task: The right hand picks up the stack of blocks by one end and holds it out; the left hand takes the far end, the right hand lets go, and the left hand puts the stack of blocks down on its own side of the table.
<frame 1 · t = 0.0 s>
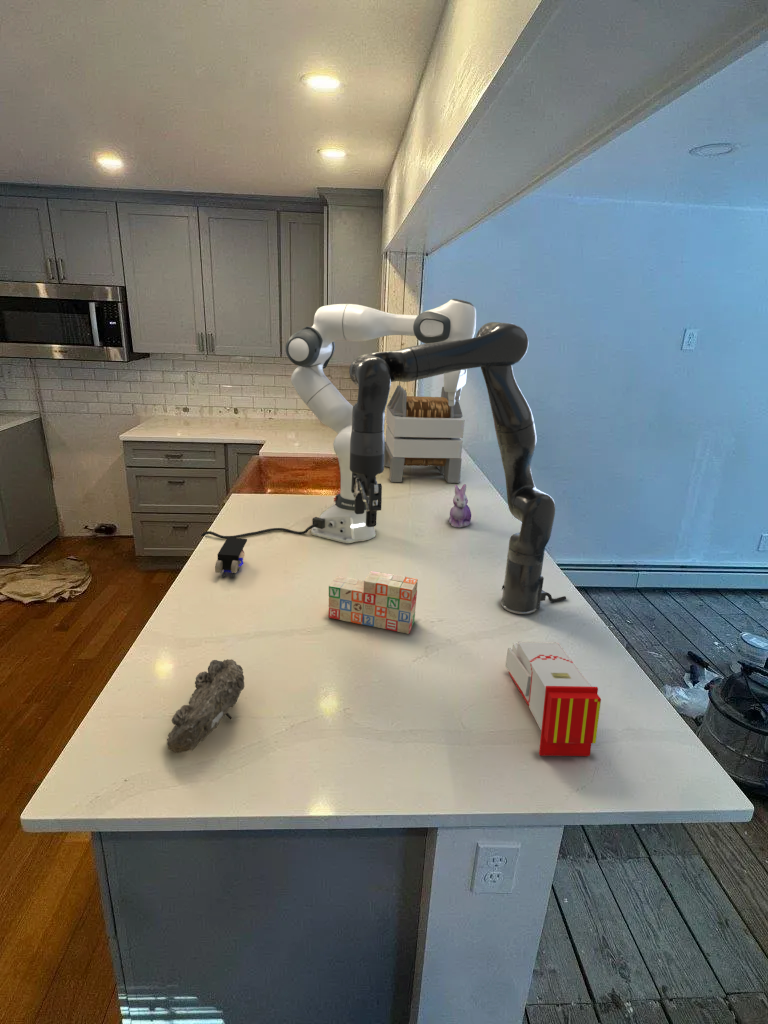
left hand: (454, 403, 174), 48 cm above the counter, tool pointing down, fingers open, 8 cm apart
right hand: (364, 519, 129), 29 cm above the counter, tool pointing down, fingers open, 8 cm apart
stack of blocks: (371, 620, 144), on the counter
figurine: (459, 523, 212), on the counter
toy: (542, 706, 115), on the counter
grey storage crate: (419, 473, 275), on the counter
black wheeled block: (232, 569, 168), on the counter
fossil: (212, 717, 108), on the counter
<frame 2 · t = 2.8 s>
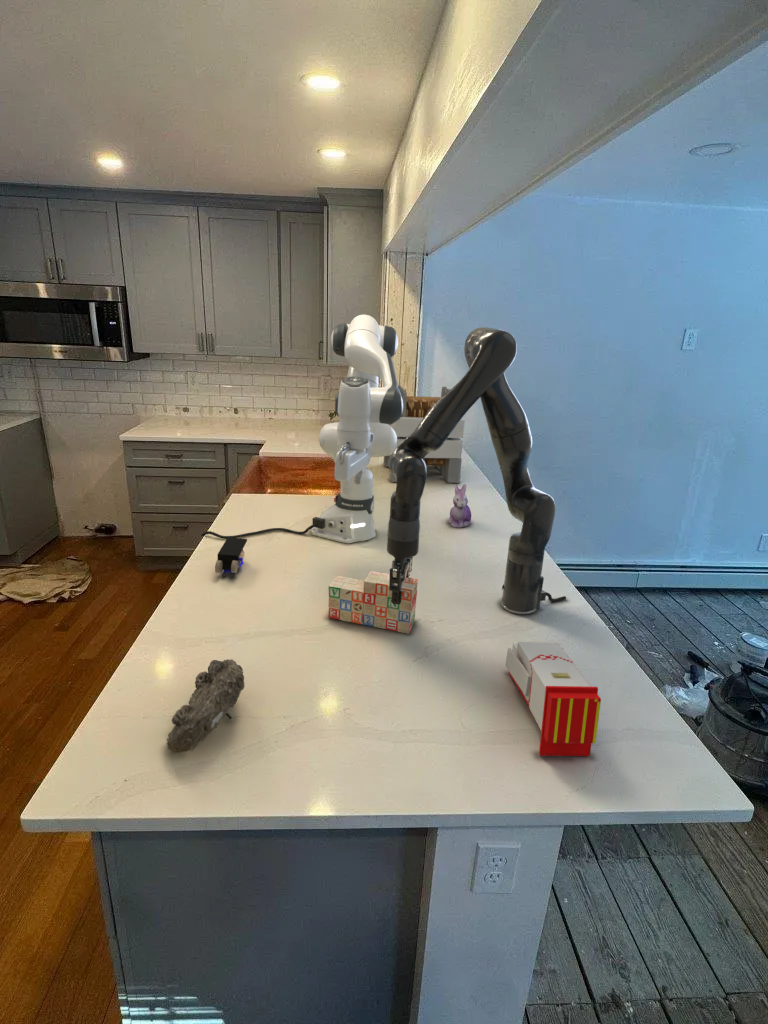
left hand: (352, 488, 157), 27 cm above the counter, tool pointing down, fingers open, 8 cm apart
right hand: (399, 596, 140), 8 cm above the counter, tool pointing down, fingers closed on stack of blocks, 6 cm apart
stack of blocks: (371, 619, 144), on the counter, touching right hand
everything else where it was.
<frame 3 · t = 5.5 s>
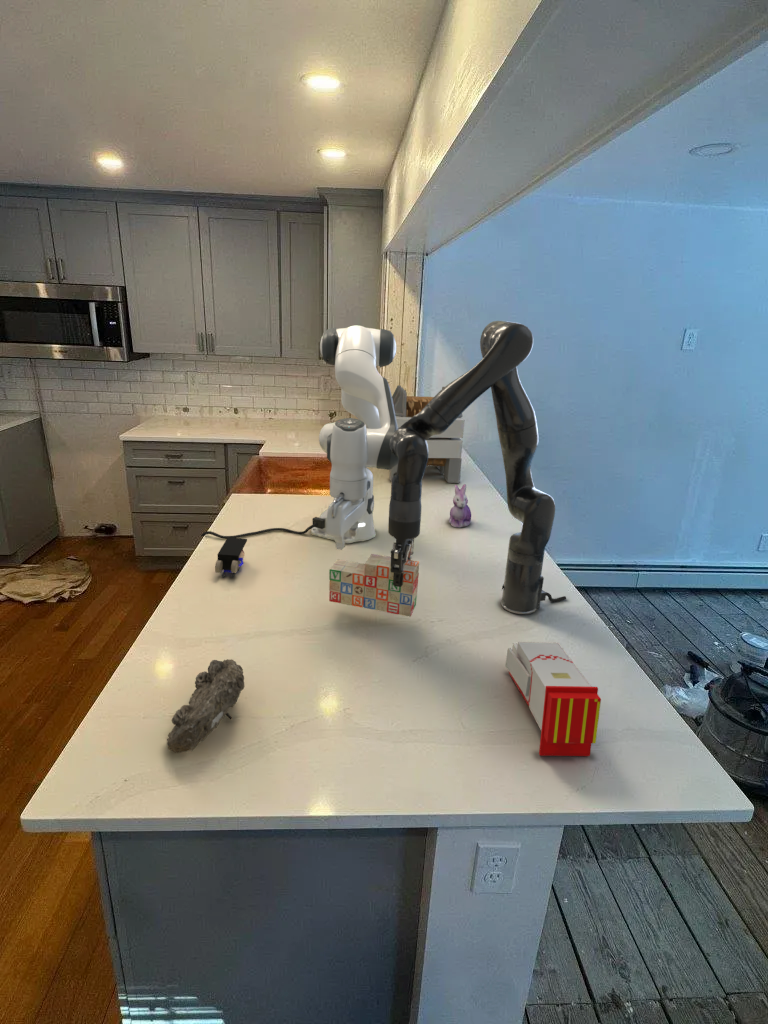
left hand: (346, 541, 140), 20 cm above the counter, tool pointing down, fingers open, 8 cm apart
right hand: (401, 579, 138), 13 cm above the counter, tool pointing down, fingers closed on stack of blocks, 6 cm apart
stack of blocks: (372, 603, 143), point 5 cm above the counter, touching right hand
everything else where it was.
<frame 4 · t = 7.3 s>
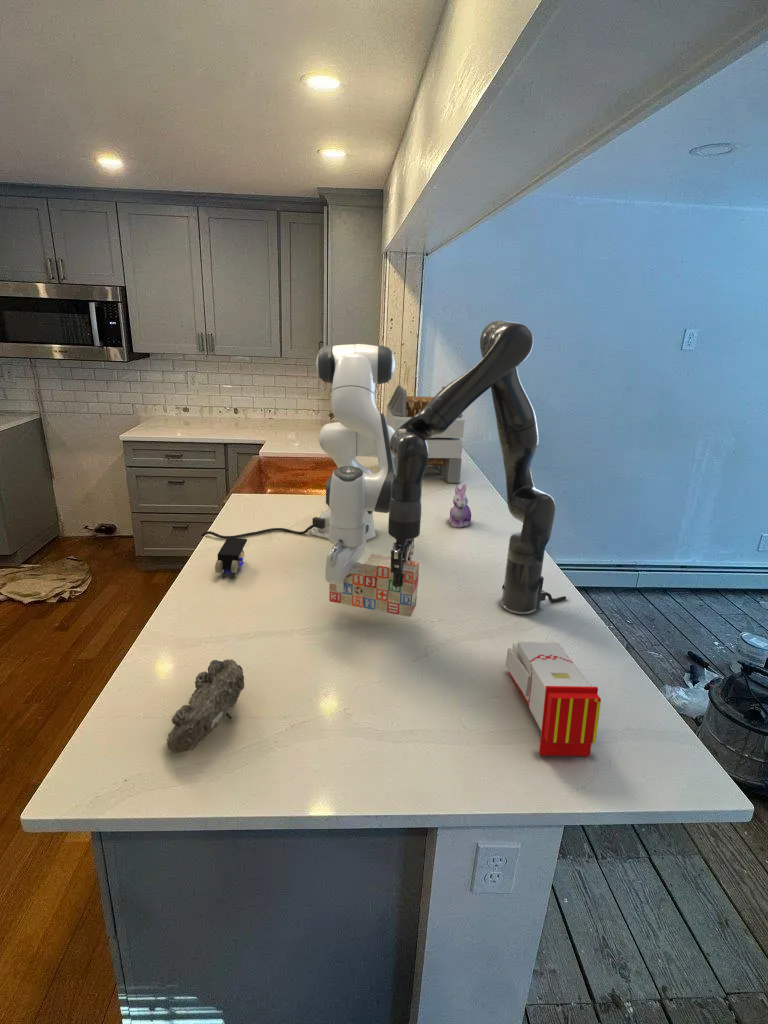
left hand: (345, 584, 143), 9 cm above the counter, tool pointing down, fingers closed on stack of blocks, 6 cm apart
right hand: (401, 579, 138), 13 cm above the counter, tool pointing down, fingers closed on stack of blocks, 6 cm apart
stack of blocks: (372, 603, 142), point 5 cm above the counter, touching left hand, right hand
everything else where it was.
when the right hand's fingers open (13 cm above the counter, at t = 8.4 s): stack of blocks stays where it is, held by the left hand.
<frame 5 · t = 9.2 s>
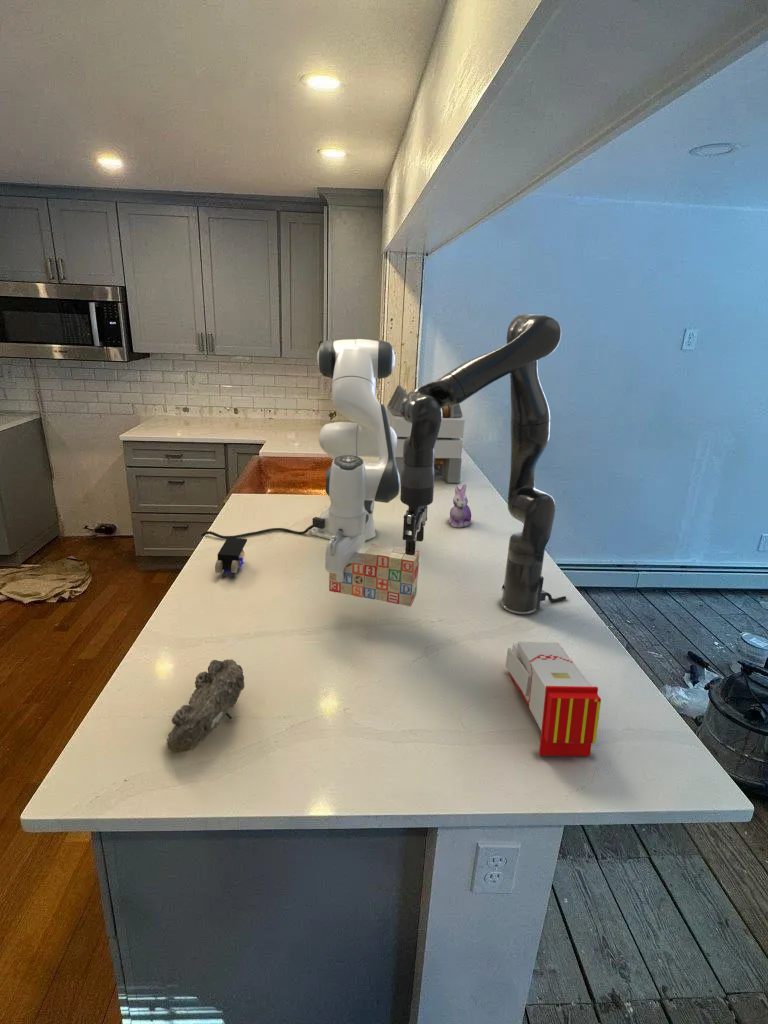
left hand: (345, 574, 142), 11 cm above the counter, tool pointing down, fingers closed on stack of blocks, 6 cm apart
right hand: (414, 547, 134), 22 cm above the counter, tool pointing down, fingers open, 8 cm apart
stack of blocks: (372, 593, 142), point 7 cm above the counter, touching left hand
everything else where it was.
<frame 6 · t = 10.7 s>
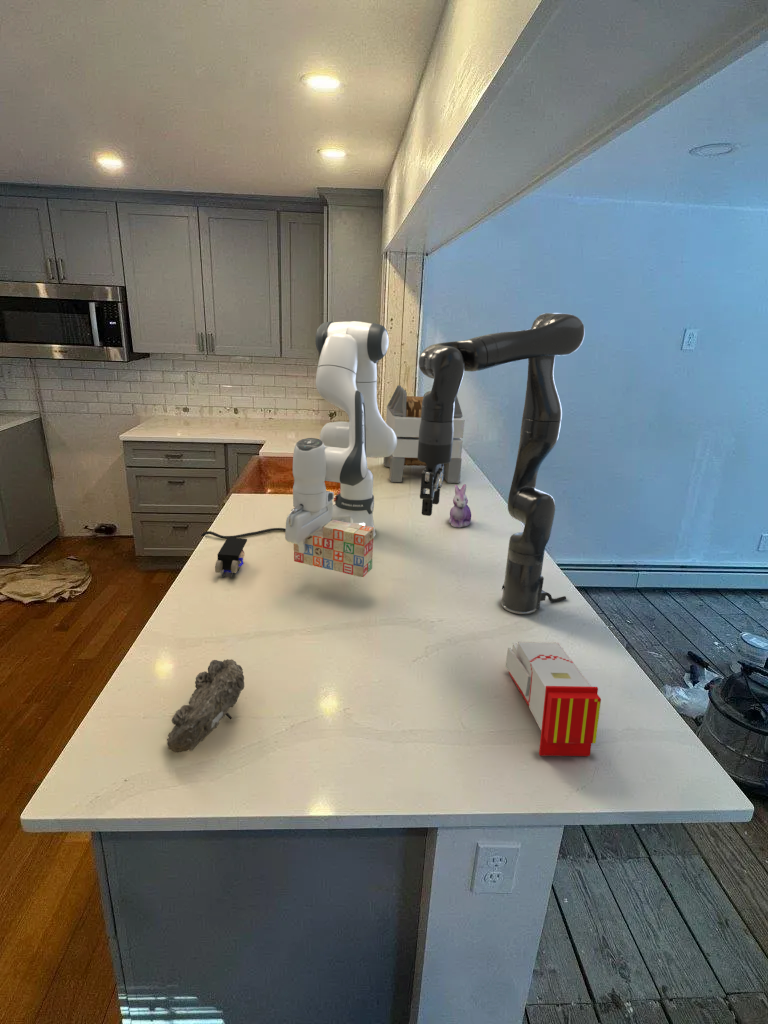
left hand: (309, 546, 157), 12 cm above the counter, tool pointing down, fingers closed on stack of blocks, 6 cm apart
right hand: (430, 509, 130), 32 cm above the counter, tool pointing down, fingers open, 8 cm apart
stack of blocks: (332, 565, 156), point 7 cm above the counter, touching left hand
everything else where it was.
when the left hand's fingers open (5 cm above the counter, at t = 12.2 s): stack of blocks stays where it is, on the counter.
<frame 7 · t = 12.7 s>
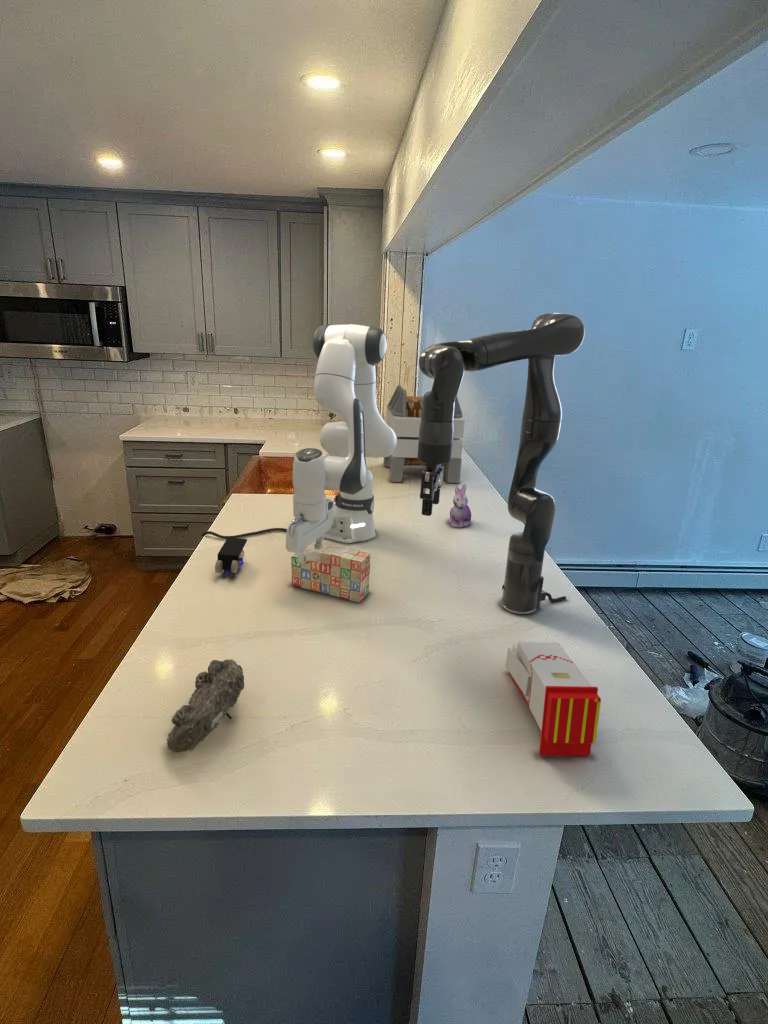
left hand: (310, 554, 159), 9 cm above the counter, tool pointing down, fingers open, 8 cm apart
right hand: (430, 509, 130), 32 cm above the counter, tool pointing down, fingers open, 8 cm apart
stack of blocks: (330, 589, 159), on the counter
everything else where it was.
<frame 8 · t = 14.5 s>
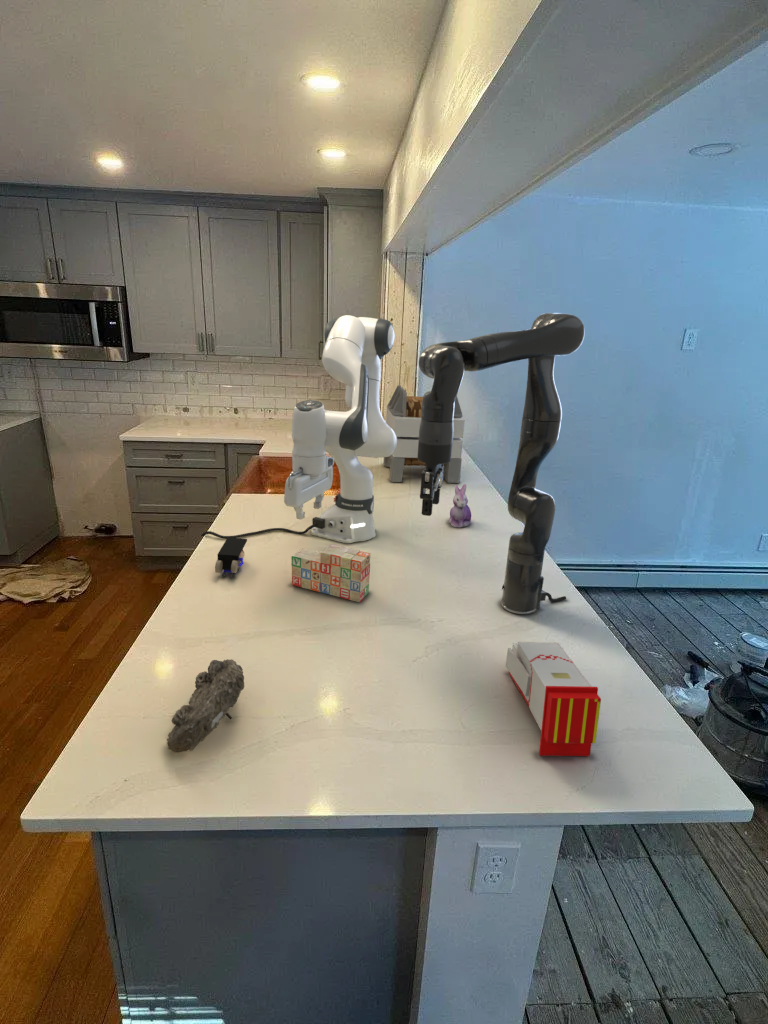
left hand: (309, 513, 154), 22 cm above the counter, tool pointing down, fingers open, 8 cm apart
right hand: (430, 509, 130), 32 cm above the counter, tool pointing down, fingers open, 8 cm apart
nothing on the counter moved.
at the end: stack of blocks inside the target area (6.6 cm from its centre), on the counter; the left hand is holding nothing; the right hand is holding nothing; stack of blocks at rest at the end (0.0 cm/s) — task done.
